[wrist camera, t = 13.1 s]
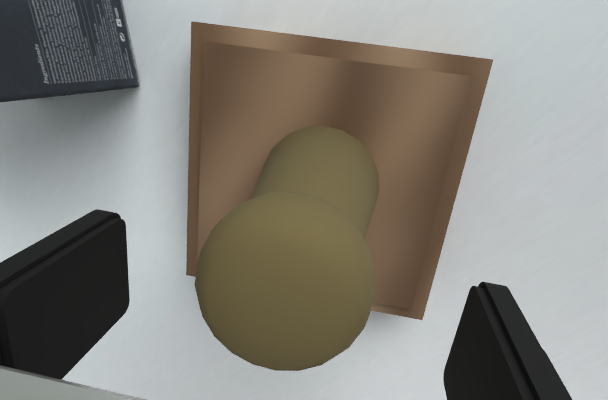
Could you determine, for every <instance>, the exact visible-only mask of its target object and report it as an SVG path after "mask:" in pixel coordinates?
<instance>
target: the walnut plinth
mask: <svg viewBox="0 0 608 400" xmlns="http://www.w3.org/2000/svg"><path fill="white" fill-rule="evenodd" d="M492 62H493V60H491V59H484V58H476V57H468V56H460V55H452V54H444V53H436V52H428V51H420V50H412V49H404V48H396V47H389V46H381V45H373V44H365V43H357V42H349V41H341V40H333V39H325V38H317V37H309V36H302V35H294V34H286V33H278V32H270V31H262V30H254V29H246V28H238V27H230V26H222V25H215V24H207V23H199V22H191V71H190V121H189V171H188V220H187V270H186V275H189V276H195V277H196V271H197V262H198V258H199V255H200V252H201V249H202V247H203V245H204V244H205V242H206V240H207V238H208V236H209V234H210V232H211V230H212V229H213V227H214V226H215V225H216V224H217V223H218V222H219V221H220V220H221V219H222V218H224V217H225V216H226V215H227V214H228V213H229V212H230V211H231V210H233V209H234V208H235V207H236V206H237V205H239V204H241V203H243V202H246V201H248V200H250V199H251V197H252V194H253V192H254V189H255V187H256V184H257V181H258V179H259V176H260V174H261V171H262V169H263V166H264V163H265V161H266V160H267V158H268V156H269V154H270V152H271V150H272V148H273V147H274V146H275V145H276V144H277V143H278V142H280V141H281V140H282V139H283V138H284V137H285V136H286V135H288V134H290V133H292V132H295V131H297V130H299V129H302V128H304V127H315V126H326V127H330V128H335V129H339V130H343V131H344V132H346V133H348V134H349V135H351V136H353V137H354V138H356V139H358V140H359V141H360V142H361V143H362V144H363V146H364V147H365V148H366V149H367V150H368V151H369V153H370V154H371V155H372V158H373V160H374V163H375V165H376V167H377V170H378V174H379V193H378V197H377V200H376V204H375V207H374V210H373V213H372V217H371V220H370V223H369V226H368V229H367V232H366V235H365V238H364V240H365V242H366V244H367V247H368V249H369V251H370V253H371V256H372V258H373V266H374V281H375V298H374V301H373V304H372V307H371V310H373V311H378V312H383V313H388V314H393V315H399V316H404V317H409V318H414V319H420V320H422V319H423V315H424V312H425V308H426V304H427V301H428V297H429V293H430V290H431V286H432V282H433V279H434V275H435V271H436V268H437V264H438V260H439V257H440V253H441V249H442V246H443V242H444V238H445V235H446V231H447V227H448V224H449V220H450V216H451V213H452V209H453V205H454V202H455V198H456V194H457V190H458V187H459V183H460V179H461V176H462V172H463V168H464V165H465V161H466V157H467V154H468V150H469V146H470V143H471V139H472V135H473V132H474V128H475V124H476V121H477V117H478V113H479V110H480V106H481V102H482V99H483V95H484V91H485V88H486V84H487V80H488V77H489V73H490V69H491V66H492Z"/></svg>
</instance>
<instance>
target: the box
mask: <svg viewBox="0 0 608 400" xmlns="http://www.w3.org/2000/svg"><path fill="white" fill-rule="evenodd" d="M138 86H139V79H138V75H137V70H136V63H135V60H134V55H133V49H132V45H131V41H130V35H129V31H128V27H127V22H126V18H125V13H124V8H123V4H122V0H0V102H7V101H16V100H26V99H36V98H45V97H55V96H64V95H74V94H83V93H91V92H100V91H108V90H116V89H125V88H133V87H138Z"/></svg>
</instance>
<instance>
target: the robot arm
mask: <svg viewBox="0 0 608 400" xmlns="http://www.w3.org/2000/svg"><path fill="white" fill-rule="evenodd" d="M128 306H129V283H128V262H127V242H126V225H125V222H124V220H123V219H121V217H120V215H119V214H117V213H113V212H108V211H103V210H94V211H92V212H90V213H88V214H86V215H85V216H83V217H81V218H79V219H78V220H76V221H74V222H72V223H70V224H69V225H67V226H65V227H63V228H62V229H60V230H58V231H56V232H54V233H53V234H51V235H49V236H47V237H45V238H44V239H42V240H40V241H38V242H37V243H35V244H33V245H31V246H29V247H28V248H26V249H24V250H22V251H20V252H19V253H17V254H15V255H13V256H12V257H10V258H8V259H6V260H4V261H3V262H1V263H0V400H145V399H140V398H136V397H132V396H128V395H124V394H120V393H115V392H111V391H107V390H103V389H98V388H94V387H90V386H86V385H81V384H77V383H73V382H69V381H65V380H61V379H62V378H63V377H64V376H65V375H66V374H67V373H68V372H69V371H70V370H71V369H72V368H73V367H74V366H75V365H76V364H77V363H78V362H79V361H80V360H81V359H82V358H83V356H84V355H85V354H86V353H87V352H88V351H89V350H90V349H91V348H92V347H93V346H94V345H95V344H96V343H97V342H98V341H99V340H100V339H101V338H102V337H103V336H104V335H105V334H106V333H107V331H108V330H109V329H110V328H111V327H112V326H113V325H114V324H115V323H116V322H117V321H118V320H119V319H120V318H121V317H122V316H123V315H124V314H125V312H126V311H127V308H128ZM444 386H445V391H446V396H447V400H572V398H571V397H570V395H569V393H568V391H567V389H566V388H565V386H564V384H563V382H562V381H561V379H560V377H559V375H558V374H557V372H556V370H555V368H554V366H553V365H552V363H551V361H550V359H549V358H548V356H547V354H546V353H545V351H544V350H543V349H542V347H541V346H540V344H539V342H538V340H537V339H536V337H535V335H534V333H533V331H532V330H531V328H530V326H529V324H528V323H527V321H526V319H525V317H524V315H523V314H522V312H521V310H520V308H519V306H518V305H517V303H516V301H515V299H514V298H513V296H512V294H511V292H510V290H509V289H508V288H507V286H502V285H497V284H492V283H486V282H481V283H480V284H479V286H478V287H477V286H472V287H471V289H470V291H469V294H468V297H467V301H466V304H465V307H464V310H463V313H462V316H461V319H460V322H459V326H458V329H457V332H456V335H455V338H454V341H453V344H452V347H451V351H450V354H449V357H448V360H447V363H446V366H445V370H444Z"/></svg>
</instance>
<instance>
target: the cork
mask: <svg viewBox="0 0 608 400" xmlns="http://www.w3.org/2000/svg"><path fill="white" fill-rule="evenodd" d="M378 193H379V174H378V170H377V167H376V165H375V163H374V160H373V158H372V155H371V154H370V153H369V151H368V150H367V149H366V148H365V147H364V146H363V144H362V143H361V142H360V141H359V140H358V139H356V138H354V137H353V136H351V135H349V134H348V133H346V132H344V131H343V130H339V129H335V128H330V127H326V126H315V127H304V128H302V129H299V130H297V131H295V132H292V133H290V134H288V135H286V136H285V137H284V138H283V139H282V140H281V141H280V142H278V143H277V144H276V145H275V146H274V147H273V148H272V150H271V152H270V154H269V156H268V158H267V160H266V161H265V163H264V166H263V169H262V171H261V174H260V176H259V179H258V181H257V184H256V187H255V189H254V192H253V194H252V197H251V199H250V200H248V201H246V202H243V203H241V204H239V205H237V206H236V207H235V208H234V209H233V210H231V211H230V212H229V213H228V214H227V215H226V216H225V217H224V218H222V219H221V220H220V221H219V222H218V223H217V224H216V225H215V226H214V227H213V229H212V230H211V232H210V234H209V236H208V238H207V240H206V242H205V244H204V245H203V247H202V249H201V252H200V255H199V258H198V262H197V271H196V280H195V287H196V292H197V296H198V300H199V305H200V309H201V312H202V316H203V318H204V320H205V321H206V323H207V325H208V326H209V328H210V330H211V331H212V333H213V335H214V336H215V337H216V338H217V339H218V340H219V341H220V342H221V343H222V344H223V345H224V346H225V347H226V348H227V349H228V350H229V351H231V352H232V353H233V354H235V355H237V356H239V357H241V358H242V359H244V360H246V361H248V362H250V363H251V364H254V365H258V366H262V367H265V368H269V369H273V370H289V371H300V370H304V369H308V368H311V367H315V366H319V365H322V364H324V363H325V362H327V361H328V360H330V359H332V358H333V357H335V356H336V355H338V354H340V353H341V352H343V351H344V350H346V349H347V348H349V347H350V345H351V344H352V343H353V342H354V340H355V339H356V338H357V336H358V335H359V334H360V333H361V331H362V330H363V329H364V327H365V324H366V322H367V320H368V317H369V314H370V311H371V307H372V304H373V301H374V298H375V281H374V266H373V258H372V256H371V253H370V251H369V249H368V247H367V244H366V242H365V240H364V238H365V235H366V232H367V229H368V226H369V223H370V220H371V217H372V213H373V210H374V207H375V204H376V200H377V197H378Z"/></svg>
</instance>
